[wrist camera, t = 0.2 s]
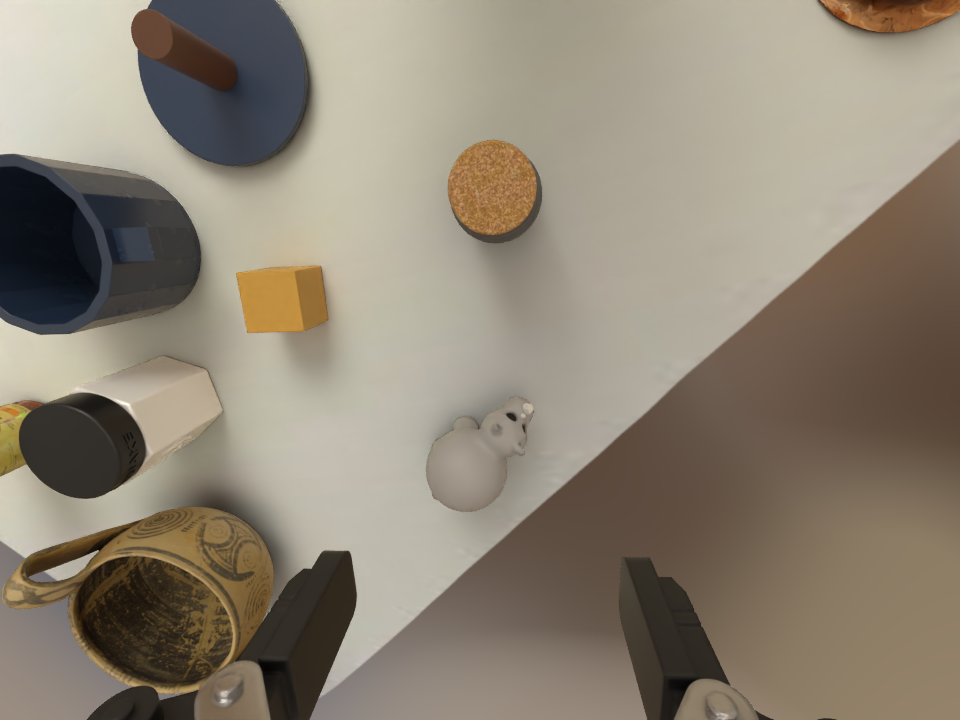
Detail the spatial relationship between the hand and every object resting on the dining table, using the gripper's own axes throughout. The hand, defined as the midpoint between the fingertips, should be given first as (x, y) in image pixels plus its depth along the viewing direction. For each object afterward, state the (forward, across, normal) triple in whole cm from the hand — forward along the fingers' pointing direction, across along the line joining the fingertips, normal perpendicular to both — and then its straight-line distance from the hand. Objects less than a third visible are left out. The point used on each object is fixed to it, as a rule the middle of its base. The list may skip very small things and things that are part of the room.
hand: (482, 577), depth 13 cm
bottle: (+29, 0, -12) cm, 32 cm away
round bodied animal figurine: (+29, +2, +9) cm, 31 cm away
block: (+29, +19, -5) cm, 35 cm away
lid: (+28, +22, -23) cm, 43 cm away
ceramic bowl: (+29, +32, +23) cm, 49 cm away
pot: (+29, +34, -10) cm, 46 cm away
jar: (+29, +33, +5) cm, 44 cm away
